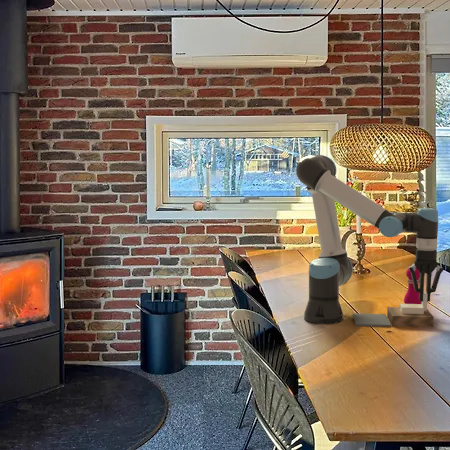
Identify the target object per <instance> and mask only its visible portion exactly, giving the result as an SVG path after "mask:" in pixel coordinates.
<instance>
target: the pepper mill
mask: <svg viewBox="0 0 450 450" xmlns="http://www.w3.org/2000/svg"><path fill="white" fill-rule="evenodd" d="M412 265H414V263H412V264H411V266H412ZM414 272H415V275H416V279H417V284H418V288H419V282H420V272H419V271H418V269H417V268H416V267H415V271H414ZM405 274H406V275H405V276H406V277H407V278H406V279H407V281H406V282H407V283H408V284H407V287H408V288H407V291H406V293H405V295H404V297H403V304H421V305H422V301H420V300H419V292H416V291H415V289H414V285H413V280H412V276H411V272H410V270H409V269H408V268H407V270H406V273H405Z"/></svg>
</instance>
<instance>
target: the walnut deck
mask: <svg viewBox="0 0 450 450" xmlns="http://www.w3.org/2000/svg"><path fill="white" fill-rule="evenodd" d="M386 307H387V309H386V313H387V314H386V316H387V318H388V320H389V322H390V324H391V327H403V328H404V327H406V328H407V327H409V328H434V315H433V314H432V313H431V312H430V310H429V309H428V308H427V311H424V314H402V313H401V311H400V306H399V307H398V306H386Z"/></svg>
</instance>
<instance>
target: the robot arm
mask: <svg viewBox="0 0 450 450" xmlns="http://www.w3.org/2000/svg"><path fill="white" fill-rule="evenodd" d="M295 174H296V177H297V179H298V181H300V182H301V183H302V184H303V185H305V186H306V190H307V192H308V193H310V194H311V197H312V202H313V210H314V214H315V220H316V221H315V222H316V226H317V228H316V229H317V234H318V239H319V245H320V253H319V254H318V258H315V259H313V260H311V261H310V263H309V268H308V300H307V304H306V306H305V310H304V313H303V315H304V316H303V318H304V320H305V321H307V322H309V323H314V324H319V325H321V324H323V325H330V324H331V325H333V324H337V323H341V322H343V320H344V314H343V313H344V312H343V309H342V306H341V303H340V299H339V298H340V286H343V285H345V284H347V283H348V281H349V280H350V279H351V277H352V276H353V272H354V268H353V267H354V266H353V263H352V261H351V260H350V259H349V257H348V253H347V252H348V251H347V250H345V249H344V248H343V245H342V238H341V232H340V226H339V219H338V215H337V210H336V209H337V208H336V203H338V204H340V205H341V206H342V207H344V208H346V209H348V211H351V212H352V213H353V214H355V215H357V217H359V218H361V219H362V220H364V221H365V222H367V223H368V224H370V225H372V226H373V227H375V228H376V229H378V230H379V232H380V233H381V235H382V236H384V237H386V238H393V237H395V238H396V237H397V236H399V235H400V234H402V233H410V234H411V233H414V234H416V240H415V241H416V242H415V243H416V244H415V247H416V248H417V249H416V250H415V261H414V263H413V264H414V265H412V264H411V266H410V265H409V266H408V268H407V269H409V270H410V272H411V276H412V280H413V285H414V289H415V291H416V292H419V300H420V301H422V304H421V305H422V306H423V307H424V311H427V309H428V303H429V302H430V301H431V294H432V293H435V292H436V291H437V288H438V283H439V280H440V277H441V275H442V273H443V271H444V268H443V267H442V266H440V265H439V264H438V262H437V261H438V260H437V257H438V256H437V255H438V251H437V248H438V233H439V231H438V230H439V211H438V210H437V209H436V208H432V207H430V208H429V207H419V208H418V209H417V211H416V212H413V213H412V212H398V211H391V212H390V211H389V210H387V208H385V207H383V206H381V205H380V204H378V203H377V202H375V201H374V200H372V199H370V198H369V197H367V196H366V195H364V194H363V193H361V192H360V191H357V189H355V188H353V187H352V186H350V185H348V184H347V183H345V182H344V181H342V180H341V179H339V178H337V177H336V175H337V166H336V163H335V162H334V160H333V159H332V158H330V157H328V156H327V155H324V154H320V155H319V154H318V155H317V154H316V155H307V156H304V157H302V158H301V159H300V160H299V161H298V163H297V165H296V168H295ZM335 202H336V203H335ZM415 267H416V268H417V269H418V271H419V272H420V278H419V279H420V282H419V288H418V284H417V279H416V275H415V272H414V271H415ZM434 271H435V274H434V278H433V281H432V275H433V274H432V273H434ZM425 274H426V275H425ZM425 276H426V281H425ZM425 282H426V283H425ZM425 284H426V286H425ZM424 288H426V289H424Z"/></svg>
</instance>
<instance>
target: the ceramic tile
mask: <svg viewBox="0 0 450 450" xmlns="http://www.w3.org/2000/svg"><path fill="white" fill-rule="evenodd" d="M399 307H400V311H401V313H402V314H424V307H423V306H422V304H405V303H399Z"/></svg>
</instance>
